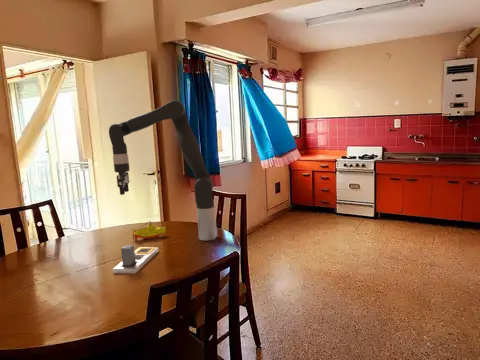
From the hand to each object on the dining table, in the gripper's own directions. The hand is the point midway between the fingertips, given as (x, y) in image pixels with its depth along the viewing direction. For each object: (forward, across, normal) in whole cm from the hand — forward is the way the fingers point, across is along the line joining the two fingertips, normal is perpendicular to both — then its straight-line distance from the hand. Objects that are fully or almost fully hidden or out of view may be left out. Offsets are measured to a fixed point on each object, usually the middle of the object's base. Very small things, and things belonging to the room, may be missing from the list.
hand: (124, 193), depth 183 cm
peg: (+27, -36, -8) cm, 46 cm away
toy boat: (+28, +5, -9) cm, 30 cm away
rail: (+27, -28, -10) cm, 41 cm away
